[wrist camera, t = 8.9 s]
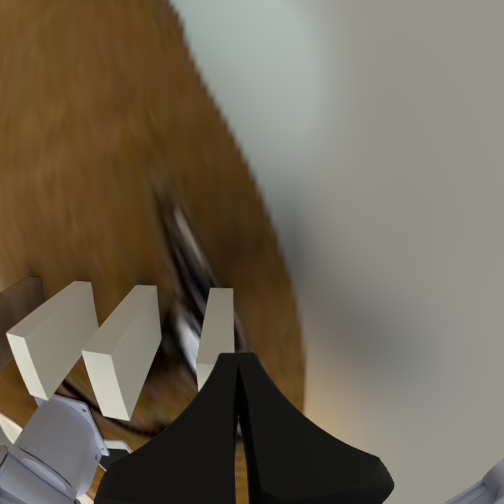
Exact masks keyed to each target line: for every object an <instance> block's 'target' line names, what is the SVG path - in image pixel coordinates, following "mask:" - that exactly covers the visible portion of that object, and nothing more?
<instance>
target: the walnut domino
mask: <svg viewBox="0 0 504 504" xmlns="http://www.w3.org/2000/svg"><path fill="white" fill-rule="evenodd" d="M43 303H45V300H44V295H43V289H42V283H41V278H38V277H29V276H28V277H26V278H25V279H23V280H21V281H19V282H17V283H16V284H14V285H12V286H10V287H9V288H7V289H5V290H4V291H2V292H0V372H1V371H2V370H3V369H4V368H5V367H6V366H7V365H8V364H9V363H10V362H11V361H12V360H13V359H14V355H13V352H12V349H11V346H10V344H9V341H8V338H7V335H6V332H8V331H9V330H10V329H11V328H13V327H14V326H15V325H16V324H18V323H19V322H20V321H21V320H23V319H24V318H25V317H26V316H28V315H29V314H30V313H32V312H33V311H34V310H35V309H37V308H38V307H39V306H41V305H42V304H43Z"/></svg>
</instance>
